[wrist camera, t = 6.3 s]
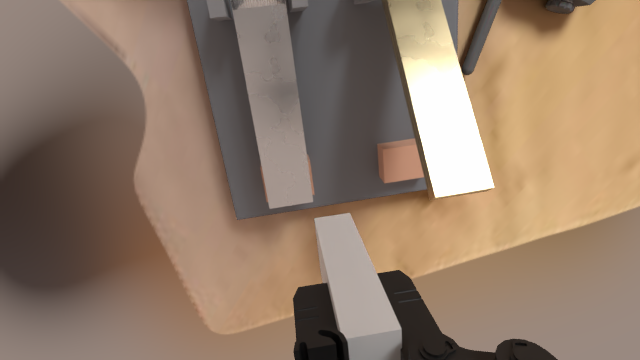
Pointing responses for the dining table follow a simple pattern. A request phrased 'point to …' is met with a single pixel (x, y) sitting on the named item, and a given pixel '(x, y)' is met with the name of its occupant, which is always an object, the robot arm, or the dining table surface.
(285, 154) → the steel strap
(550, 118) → the dining table surface
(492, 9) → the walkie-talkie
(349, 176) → the mount plate
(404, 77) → the brass strap
